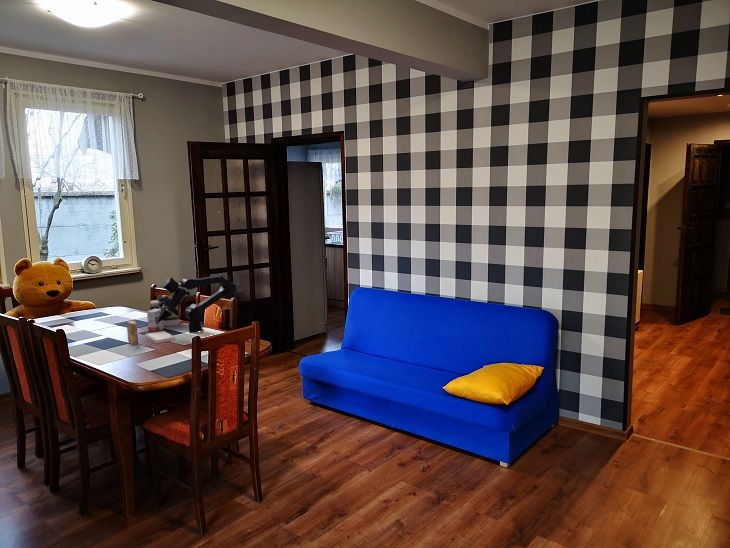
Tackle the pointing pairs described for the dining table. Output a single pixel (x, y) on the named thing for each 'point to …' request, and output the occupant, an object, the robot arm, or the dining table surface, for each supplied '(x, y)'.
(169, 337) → the plate
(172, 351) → the dining table surface
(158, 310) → the ink box
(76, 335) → the dining table surface
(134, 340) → the stub
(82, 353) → the dining table surface
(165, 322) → the tea box
